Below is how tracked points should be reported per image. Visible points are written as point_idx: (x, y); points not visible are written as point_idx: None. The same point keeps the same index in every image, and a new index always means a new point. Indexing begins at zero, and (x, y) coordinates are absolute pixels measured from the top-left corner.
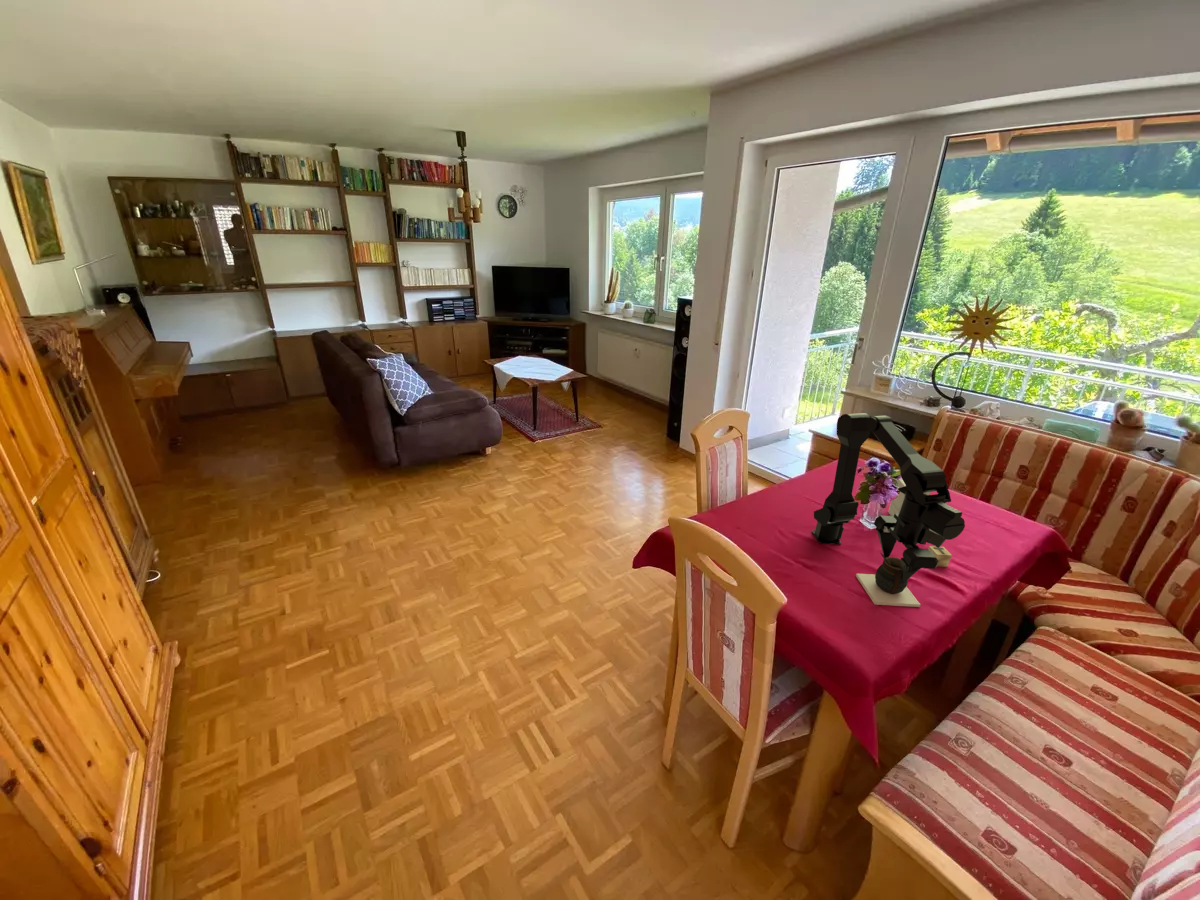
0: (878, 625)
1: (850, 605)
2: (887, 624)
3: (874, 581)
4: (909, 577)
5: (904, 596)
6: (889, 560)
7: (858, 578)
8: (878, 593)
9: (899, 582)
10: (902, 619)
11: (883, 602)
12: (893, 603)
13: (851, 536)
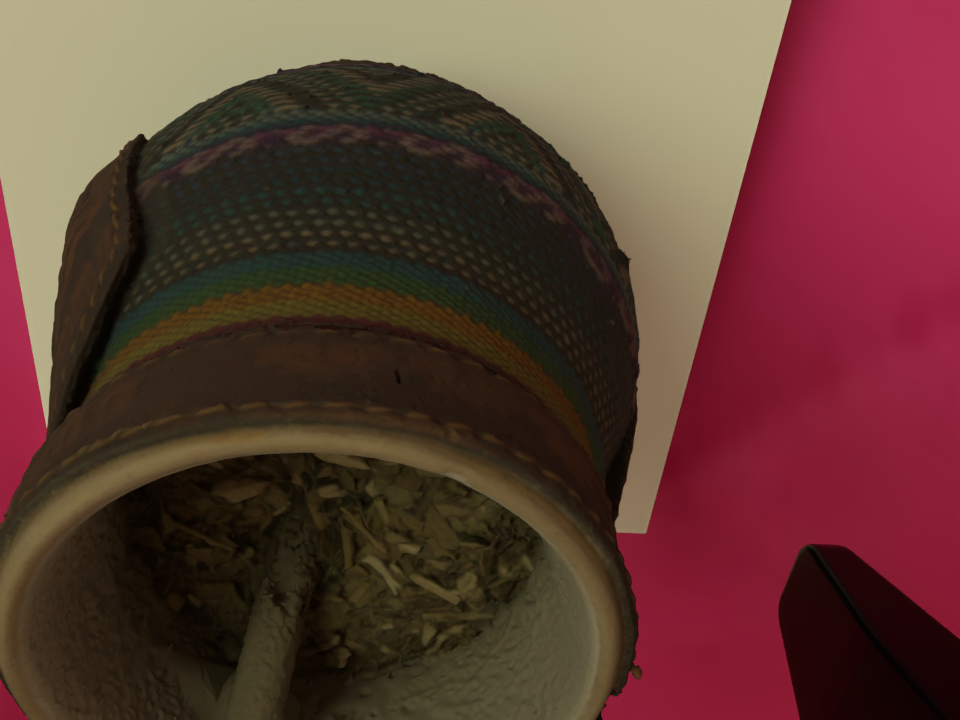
0: (931, 599)
1: (621, 702)
2: (949, 521)
3: None
4: (944, 645)
5: (578, 89)
6: (87, 614)
7: None
8: None
9: (630, 438)
10: (939, 333)
11: (667, 454)
12: (696, 335)
13: None
